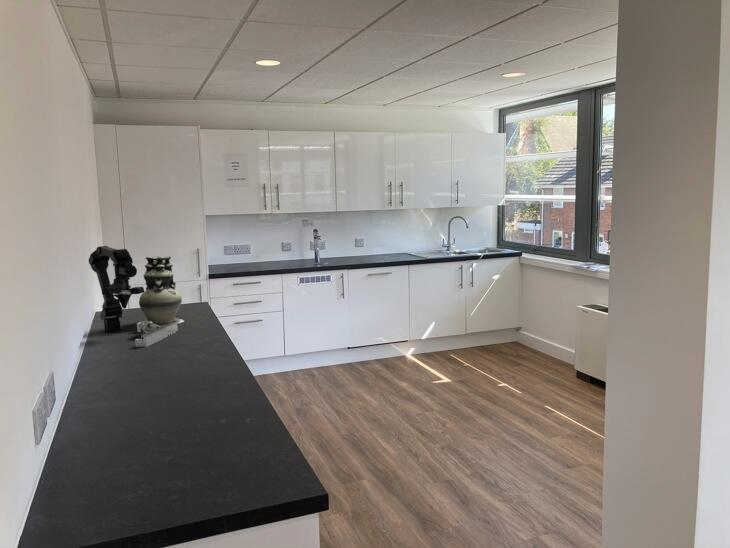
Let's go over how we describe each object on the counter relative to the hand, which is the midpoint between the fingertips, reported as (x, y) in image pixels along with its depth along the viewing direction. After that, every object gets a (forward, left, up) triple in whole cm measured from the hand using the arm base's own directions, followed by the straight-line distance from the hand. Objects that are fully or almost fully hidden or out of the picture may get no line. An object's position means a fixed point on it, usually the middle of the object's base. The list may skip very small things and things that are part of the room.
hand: (124, 308), depth 281 cm
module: (+5, +8, -13) cm, 16 cm away
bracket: (+19, -6, -13) cm, 24 cm away
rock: (+13, -1, -13) cm, 19 cm away
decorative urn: (+4, +27, -13) cm, 30 cm away
